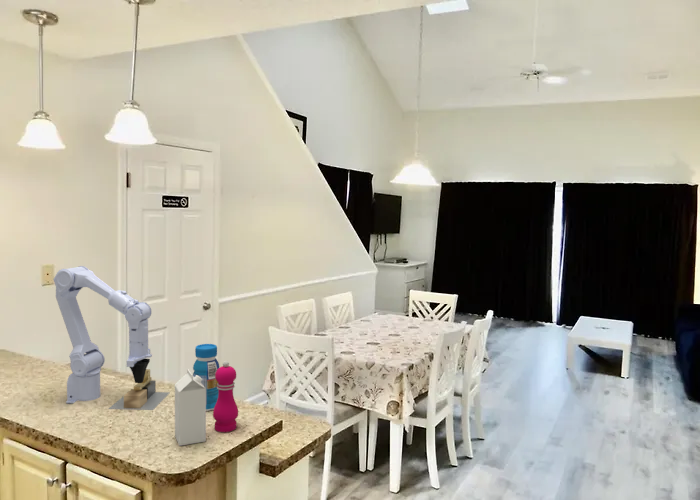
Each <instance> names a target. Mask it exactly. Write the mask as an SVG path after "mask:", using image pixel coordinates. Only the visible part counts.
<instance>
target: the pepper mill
mask: <svg viewBox="0 0 700 500" xmlns="http://www.w3.org/2000/svg"><path fill="white" fill-rule="evenodd" d="M215 378H216V380H217V381H218V383H217V389H218V391H219V394H218V400H217V402H216V405H215V407H214V410H212V417H213V419H214V420H215V421H214V430H215V431H216V432H219V433H229V432H232V431H235V430H236V429H237V427H238V426H237V420H236V419H237V418H238V416H239V407H238V404H237V403H236V400H235V398H234V388H235V387H236V386H235V381H236V380H237V371H236V369H235V368H234V367H233V366H230V362H229V361H228V360H224V361H223V362H222V366H219V368H218V369H217V371H216V373H215Z"/></svg>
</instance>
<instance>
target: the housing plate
mask: <svg viewBox="0 0 700 500" xmlns="http://www.w3.org/2000/svg"><path fill="white" fill-rule="evenodd" d="M156 384H157V383H156V380H152V379H151V381H150V382H149V383H148V384H147V385H146V386H145V387H143V388H142V389H146V390H147V402H146V403H145V404H144V405H143V406H142V407H141V408H124V395H123V396H122V397H121V398H120V399H118V400H117V401H116V402H114V404H112V405H111V406H109V407H108V410H127V411H128V410H133V411H135V410H136V411H154V410H155V409H156V408H157V406H159V405H160V403H162V402H163V401H164V400H165V398H166V397H167V396H168V395H170V393H171V392H169V391H156V386H157V385H156Z"/></svg>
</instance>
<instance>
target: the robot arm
mask: <svg viewBox="0 0 700 500" xmlns="http://www.w3.org/2000/svg"><path fill="white" fill-rule="evenodd" d="M53 282H54V286H55V298H56V301H57V305H58V307H59V310H60V313H61V316H62V319H63V322H64V325H65V327H66V328H65V329H66V331H67V334H68V337H69V340H70V342H71V345H72V349H71V352H70V354H69V359H70V363H69V365H70V367H69V368H70V370H71V372H72V373H70V375H69V376H68V377H67V381H66V398H67V399H66V401H65V403H66V404H74V403H76V402H78V401H79V402H80V401H81V402H88V401H89V402H90V401H93V400H97V399H100V397H101V370H102V367H103V366H104V364H105V361H106V360H105V355H104V353H102V351H101V350H100V348H99V346H98V345H97V344H95V343H94V342H92V340H91V338H90V337H91V336H90V334H89V331H88V329H87V325H86V323H85V320H84V317H83V313H82V311H81V309H80V305H79V303H78V300H77V296H78V294H79V293H80V291H81V290H82V289H83V288H88V289H90V290H91V291H94V292H95V293H97V294H98V295H100V296H102V297H103V298H105V299H106V300H108V305H109V306H111V307H112V308H113V309H115V310H117V311H118V312H119V313H121V314H122V315H124V319H125V320H126V322H127V323H128V341H129V342H128V345H129V347H128V352H129V353H128V356H127V357H128V358H127V359H126V367H127V368H129V369H130V371H131V373H132V376H133V379H134V383H135V384H138V383H142V382H143V380H144V376H145V371H146V369H147V368H148V365H149V363H150V361H151V360H150V358H151V357H153V354H152V353H151V348H149V318H150V317H151V316H152V308H151V306H150V305H149V304H148V303H147V302H144V301H142V302H140V301H139V299H135V298H133V297H132V296H131V295H129V294H128V292H127V291H126V290H124V289H123V290H122V289H118V290H115V289H113V287H111V286H110V285H109V284H107V283H106V282H105V281H103V280H102V279H101V278H99V277H98V276H97V275H95V273H94V271H93V270H90V269H89V268H88V267H86V266H85V265H80V266H77V267H68V268H61V269H59V270H58V271H57V272H56V274H55V275H54V278H53Z"/></svg>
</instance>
